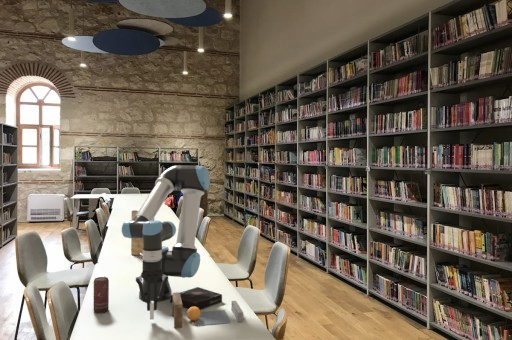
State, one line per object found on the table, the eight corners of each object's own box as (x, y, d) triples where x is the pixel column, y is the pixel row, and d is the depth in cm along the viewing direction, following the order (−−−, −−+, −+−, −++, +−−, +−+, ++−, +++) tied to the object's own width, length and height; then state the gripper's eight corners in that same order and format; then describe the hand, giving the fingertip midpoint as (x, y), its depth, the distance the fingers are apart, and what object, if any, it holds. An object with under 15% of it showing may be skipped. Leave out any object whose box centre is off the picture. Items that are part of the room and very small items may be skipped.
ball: (186, 305, 172) (199, 303, 173) (187, 317, 172) (200, 315, 173) (186, 311, 166) (200, 308, 167) (187, 324, 167) (201, 321, 168)
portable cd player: (196, 294, 203) (196, 286, 203) (221, 303, 192) (222, 294, 192) (170, 303, 190) (170, 295, 190) (195, 313, 179) (195, 303, 179)
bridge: (174, 328, 162) (174, 304, 161) (172, 314, 176) (172, 292, 175) (182, 327, 162) (182, 304, 162) (179, 313, 176) (179, 292, 176)
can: (110, 307, 182) (110, 276, 181) (105, 313, 176) (106, 280, 175) (96, 307, 182) (96, 276, 181) (91, 313, 175) (91, 280, 175)
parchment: (155, 259, 267) (156, 213, 266) (146, 261, 263) (147, 214, 262) (138, 253, 285) (138, 209, 284) (130, 254, 280) (130, 210, 279)
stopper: (231, 309, 182) (231, 300, 182) (235, 309, 182) (236, 300, 182) (238, 322, 168) (238, 312, 168) (242, 321, 169) (243, 312, 169)
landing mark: (192, 312, 178) (192, 312, 178) (224, 310, 181) (224, 309, 181) (196, 325, 164) (196, 325, 164) (230, 322, 168) (230, 322, 168)
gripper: (135, 263, 160) (134, 323, 161) (169, 261, 164) (168, 320, 164) (135, 258, 168) (135, 315, 168) (168, 256, 171) (167, 313, 172)
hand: (151, 318), depth 166 cm, fingers closed
